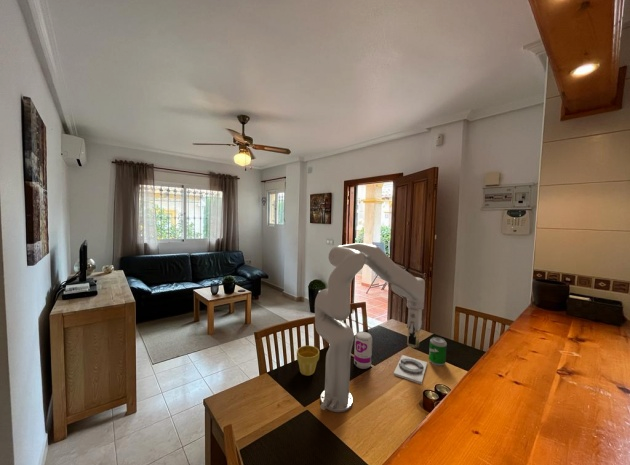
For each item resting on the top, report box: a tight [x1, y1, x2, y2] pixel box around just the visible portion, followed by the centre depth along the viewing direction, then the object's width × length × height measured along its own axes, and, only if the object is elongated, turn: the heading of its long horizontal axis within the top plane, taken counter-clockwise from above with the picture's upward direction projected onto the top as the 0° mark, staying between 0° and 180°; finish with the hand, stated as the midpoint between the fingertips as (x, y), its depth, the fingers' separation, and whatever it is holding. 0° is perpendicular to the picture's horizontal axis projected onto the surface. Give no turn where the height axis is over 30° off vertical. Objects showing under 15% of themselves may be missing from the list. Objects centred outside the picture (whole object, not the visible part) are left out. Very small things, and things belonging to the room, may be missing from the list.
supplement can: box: [353, 331, 373, 370], centre depth 127 cm, size 8×8×15 cm
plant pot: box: [296, 345, 320, 376], centre depth 121 cm, size 10×10×10 cm
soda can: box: [428, 336, 448, 367], centre depth 131 cm, size 8×8×12 cm
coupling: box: [406, 324, 422, 349], centre depth 124 cm, size 5×6×9 cm
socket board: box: [393, 354, 428, 385], centre depth 125 cm, size 18×12×2 cm, turn 150°
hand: (413, 341), depth 124 cm, fingers closed on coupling, 5 cm apart
